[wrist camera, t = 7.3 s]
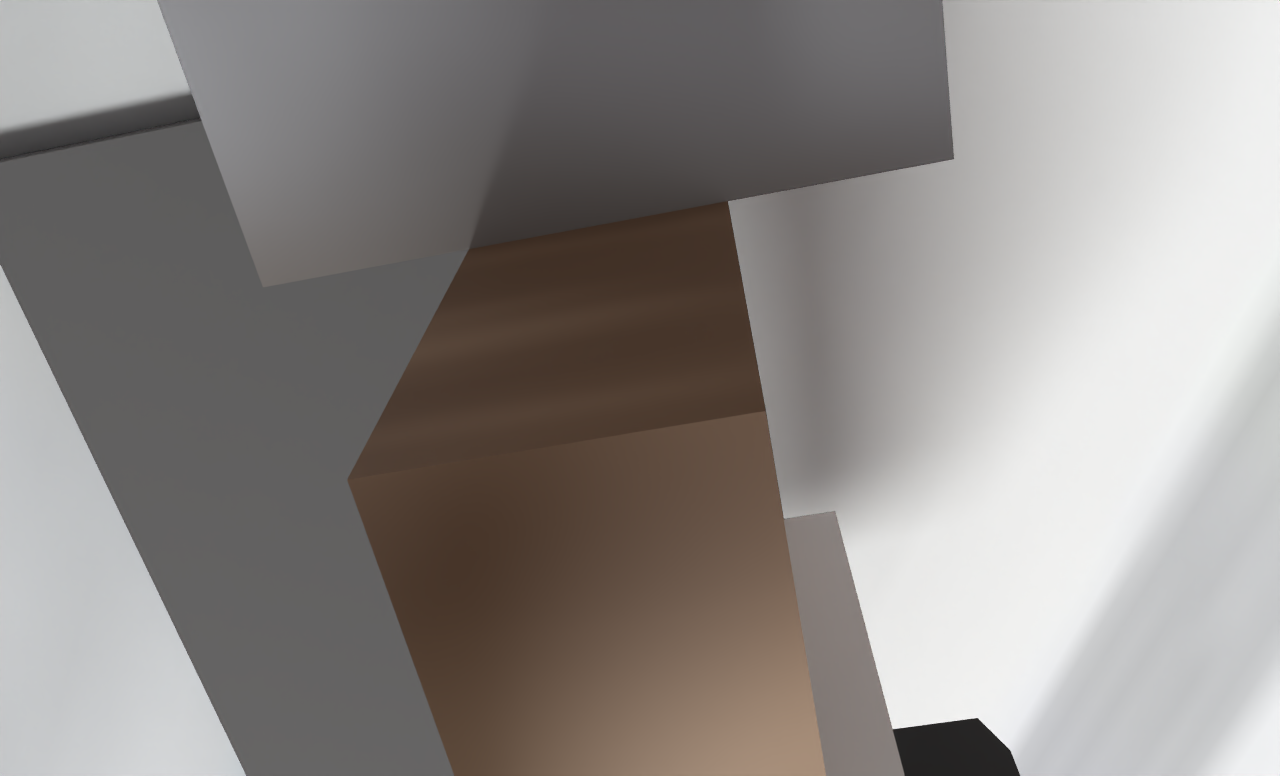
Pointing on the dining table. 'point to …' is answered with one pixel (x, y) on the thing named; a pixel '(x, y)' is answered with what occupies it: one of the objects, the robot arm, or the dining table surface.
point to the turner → (570, 333)
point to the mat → (232, 437)
